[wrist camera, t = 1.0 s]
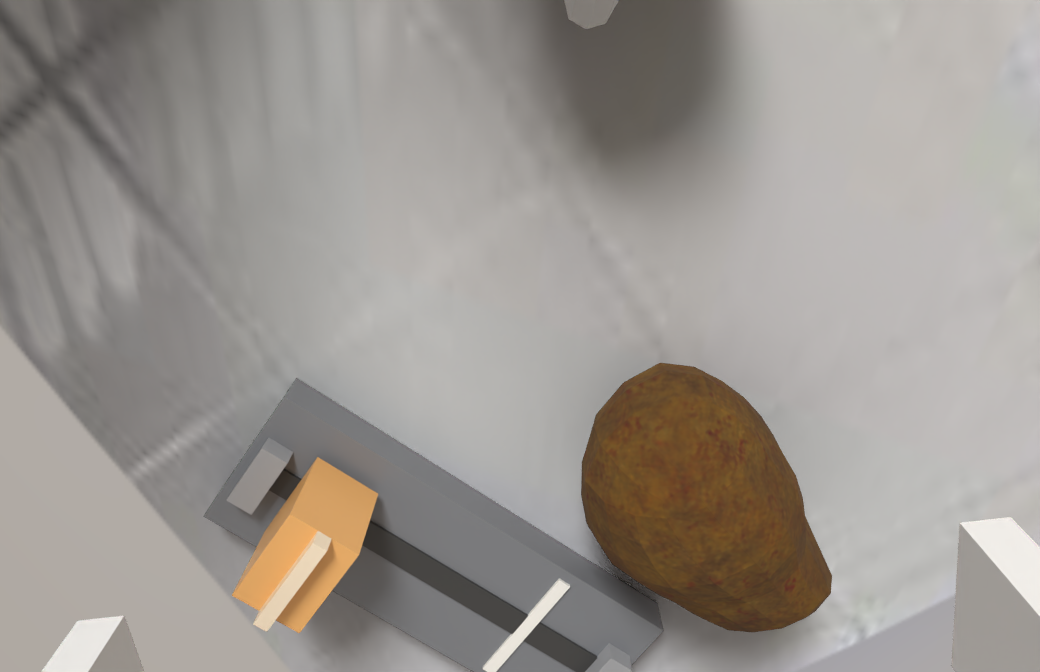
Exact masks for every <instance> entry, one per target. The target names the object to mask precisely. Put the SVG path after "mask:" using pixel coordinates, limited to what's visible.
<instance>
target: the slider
mask: <svg viewBox="0 0 1040 672" xmlns="http://www.w3.org/2000/svg"><path fill="white" fill-rule="evenodd" d="M377 496H378V493H376V492H375V491H373V490H371V489H370V488H368V487H366V486H365V485H363V484H361V483H360V482H358V481H356V480H355V479H353V478H351V477H350V476H348V475H347V474H345V473H343V472H342V471H340V470H338V469H337V468H335V467H333V466H332V465H330V464H328V463H327V462H325V461H324V460H322V459H320V458H319V457H317V458H316V460H315V461H314V463H313V464H312V465H311V467H310V468H309V470H308V471H307V472H306V474H305V475H304V477H303V478H302V480H301V481H300V482H299V484H298V485H297V487H296V488H295V489H294V491H293V492H292V494H291V495H290V496H289V498H288V499H287V501H286V502H285V503H284V505H283V506H282V508H281V509H280V510H279V512H278V513H277V515H276V516H275V518H274V519H273V520H272V522H271V523H270V525H269V526H268V527H267V529H266V530H265V532H264V534H263V536H262V538H261V540H260V542H259V544H258V545H257V547H256V549H255V551H254V553H253V555H252V557H251V559H250V561H249V563H248V565H247V567H246V569H245V571H244V573H243V575H242V577H241V579H240V580H239V582H238V584H237V586H236V588H235V590H234V592H233V594H232V596H234V597H235V598H237V599H239V600H241V601H243V602H244V603H246V604H248V605H250V606H251V607H253V608H255V609H257V610H259V612H258V614H257V616H256V619H255V621H254V623H253V625H255V626H257V627H259V628H261V629H262V630H264V631H266V632H267V631H268V630H269V628H270V627H271V626H272V624H273V623H274V622H275V620H276V621H278V622H280V623H282V624H284V625H285V626H287V627H289V628H291V629H293V630H294V631H296V632H298V633H300V632H301V630H302V629H303V628H304V627H305V625H306V624H307V623H308V621H309V620H310V619H311V617H312V616H313V615H314V613H315V612H316V611H317V609H318V608H319V607H320V606H321V604H322V603H323V602H324V600H325V599H326V598H327V596H328V595H329V594H330V592H331V591H332V590H333V588H334V587H335V586H336V585H337V583H338V582H339V581H340V579H341V578H342V577H343V575H344V574H345V573H346V571H347V570H348V569H349V567H350V566H351V565H352V564H353V562H354V561H355V560H356V558H357V557H358V556H359V554H360V550H361V547H362V544H363V541H364V538H365V535H366V531H367V528H368V525H369V522H370V519H371V515H372V512H373V509H374V506H375V503H376V500H377Z"/></svg>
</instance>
